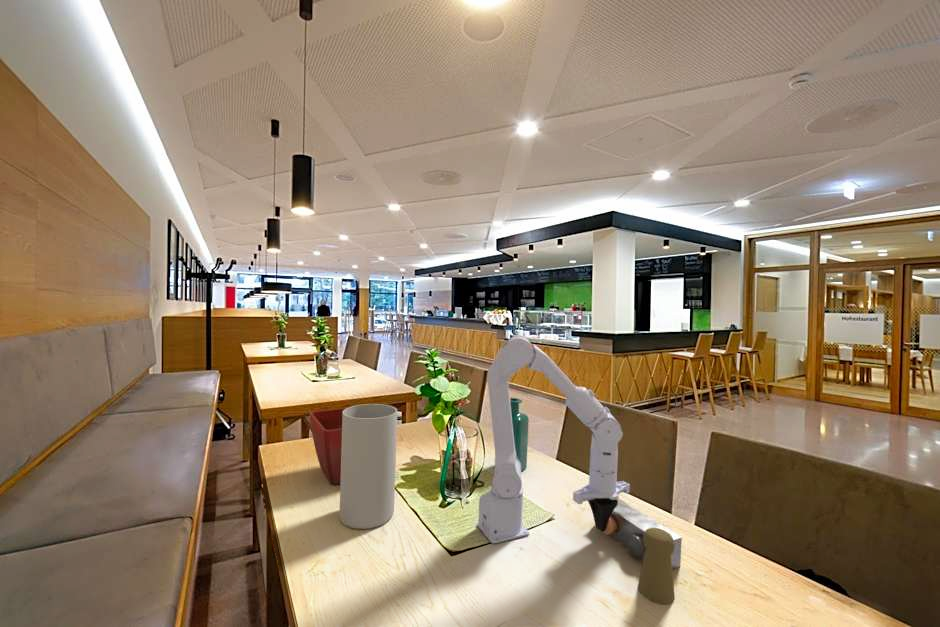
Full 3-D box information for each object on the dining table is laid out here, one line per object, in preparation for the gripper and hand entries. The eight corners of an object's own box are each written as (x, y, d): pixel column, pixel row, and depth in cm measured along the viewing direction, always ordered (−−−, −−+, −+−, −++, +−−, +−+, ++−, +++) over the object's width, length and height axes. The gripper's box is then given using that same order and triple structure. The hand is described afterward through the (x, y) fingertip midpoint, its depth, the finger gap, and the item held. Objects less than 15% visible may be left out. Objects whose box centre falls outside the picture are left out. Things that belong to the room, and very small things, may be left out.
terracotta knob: (609, 537, 85) (610, 521, 85) (598, 528, 88) (598, 513, 88) (633, 531, 88) (634, 515, 88) (620, 522, 91) (621, 507, 91)
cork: (679, 607, 67) (682, 544, 67) (642, 600, 68) (645, 539, 68) (668, 583, 73) (671, 525, 73) (634, 577, 74) (637, 520, 74)
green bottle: (528, 466, 123) (531, 398, 123) (517, 476, 116) (520, 403, 116) (501, 459, 129) (504, 393, 128) (488, 467, 121) (491, 398, 121)
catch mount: (660, 573, 76) (662, 543, 75) (595, 524, 92) (596, 499, 92) (680, 566, 78) (681, 537, 78) (612, 519, 94) (613, 495, 94)
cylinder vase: (404, 509, 95) (407, 408, 95) (371, 536, 84) (374, 422, 83) (363, 497, 100) (366, 401, 100) (327, 521, 89) (330, 413, 88)
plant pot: (391, 478, 112) (393, 420, 111) (323, 494, 101) (324, 430, 101) (368, 455, 128) (370, 404, 127) (307, 467, 117) (308, 412, 116)
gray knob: (639, 560, 77) (640, 542, 77) (625, 549, 81) (626, 532, 81) (663, 552, 80) (664, 535, 80) (649, 542, 84) (650, 525, 84)
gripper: (590, 481, 79) (587, 546, 79) (641, 470, 85) (638, 531, 85) (567, 467, 85) (565, 528, 86) (617, 458, 91) (614, 515, 92)
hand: (600, 528), depth 86 cm, fingers closed
